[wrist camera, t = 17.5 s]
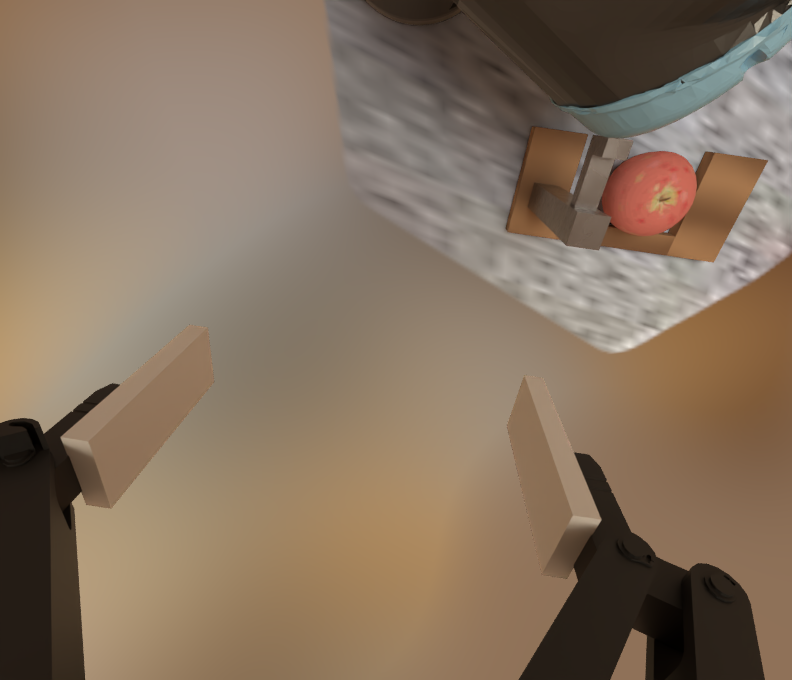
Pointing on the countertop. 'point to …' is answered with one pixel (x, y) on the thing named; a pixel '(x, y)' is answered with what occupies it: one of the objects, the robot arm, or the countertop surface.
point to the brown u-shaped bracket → (690, 238)
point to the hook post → (581, 197)
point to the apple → (649, 193)
